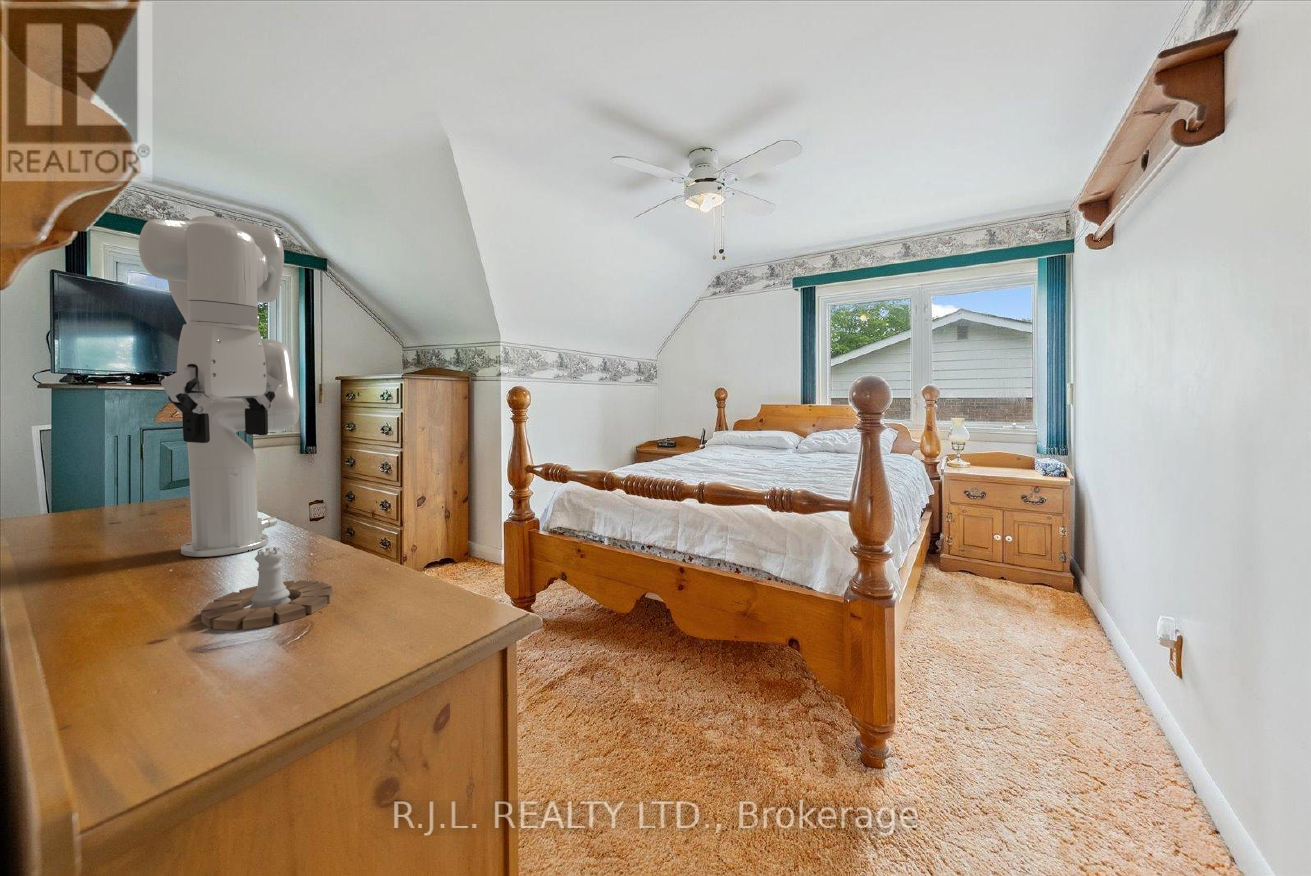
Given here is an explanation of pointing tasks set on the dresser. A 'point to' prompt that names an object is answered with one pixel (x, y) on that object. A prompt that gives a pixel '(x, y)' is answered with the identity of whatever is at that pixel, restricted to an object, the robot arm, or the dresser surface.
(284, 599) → the rook chess piece
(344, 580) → the dresser surface
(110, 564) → the dresser surface
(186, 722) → the dresser surface
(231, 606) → the walnut ring
